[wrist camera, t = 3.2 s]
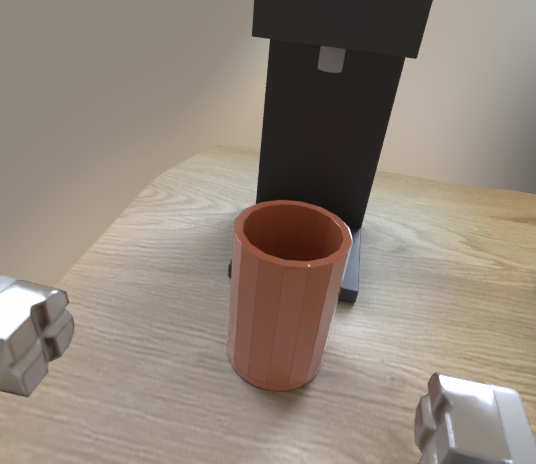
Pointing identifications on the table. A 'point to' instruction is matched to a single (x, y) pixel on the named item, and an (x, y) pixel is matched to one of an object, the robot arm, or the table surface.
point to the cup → (284, 291)
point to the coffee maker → (331, 101)
